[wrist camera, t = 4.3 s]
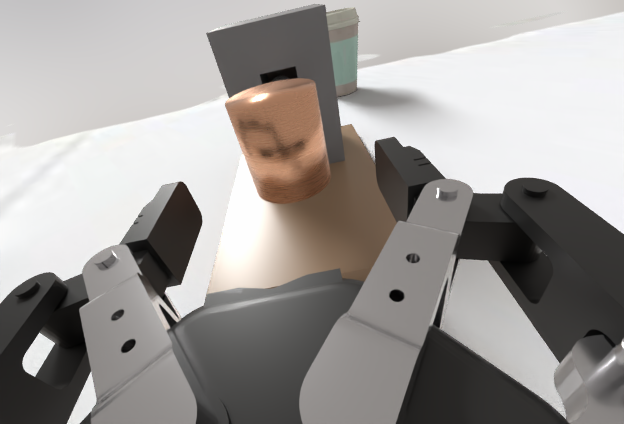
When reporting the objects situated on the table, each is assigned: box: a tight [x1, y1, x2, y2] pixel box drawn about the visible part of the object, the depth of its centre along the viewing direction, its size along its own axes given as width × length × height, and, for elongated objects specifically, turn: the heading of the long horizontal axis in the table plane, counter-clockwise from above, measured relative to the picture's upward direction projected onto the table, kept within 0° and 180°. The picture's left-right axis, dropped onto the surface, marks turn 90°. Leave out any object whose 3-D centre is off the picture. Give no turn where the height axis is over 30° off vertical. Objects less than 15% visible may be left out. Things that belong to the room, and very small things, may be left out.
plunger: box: [225, 75, 331, 204], centre depth 19 cm, size 14×4×5 cm, turn 4°
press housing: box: [205, 4, 397, 299], centre depth 23 cm, size 23×14×14 cm, turn 4°
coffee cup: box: [326, 7, 360, 97], centre depth 48 cm, size 8×8×12 cm
